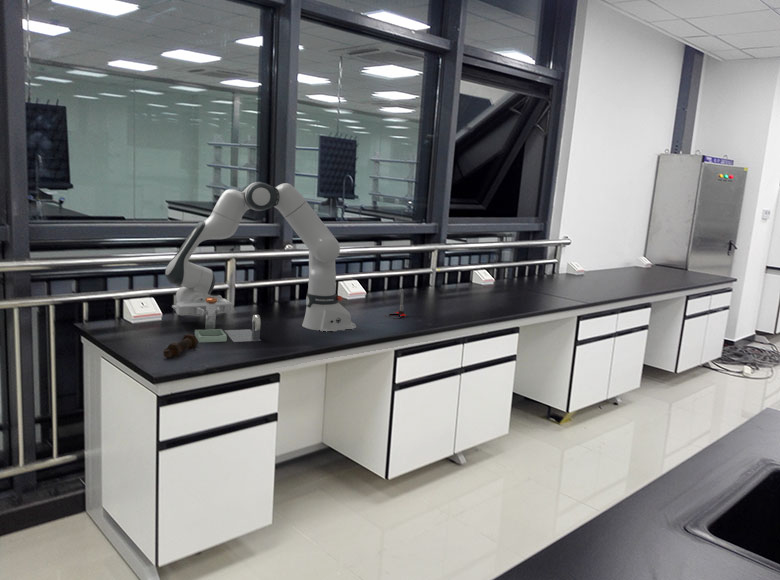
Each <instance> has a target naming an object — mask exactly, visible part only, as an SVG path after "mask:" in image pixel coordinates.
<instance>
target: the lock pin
mask: <svg viewBox="0 0 780 580" xmlns="http://www.w3.org/2000/svg"><path fill="white" fill-rule="evenodd" d="M216 302H217V298H214V297H207V298H206V310H207V315H205V323H204V324H205V327H204V329H205V330H207V329H216V316H217V314H216Z"/></svg>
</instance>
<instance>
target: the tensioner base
mask: <svg viewBox="0 0 780 580" xmlns="http://www.w3.org/2000/svg"><path fill="white" fill-rule="evenodd" d="M251 323H252V325H251V329H250V328H249V329H228V330H225V329H224V330H223V332H224V333H225V334H226V335H227V337H229V338H230V340H232V342H233V343H238V342H240V343H242V342H259V341H260V342H261V341H262V340H261V338H260V337H261V326H262V325H261V324H262V323H261V316H260V315H259V314H253V315H252V320H251Z"/></svg>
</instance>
